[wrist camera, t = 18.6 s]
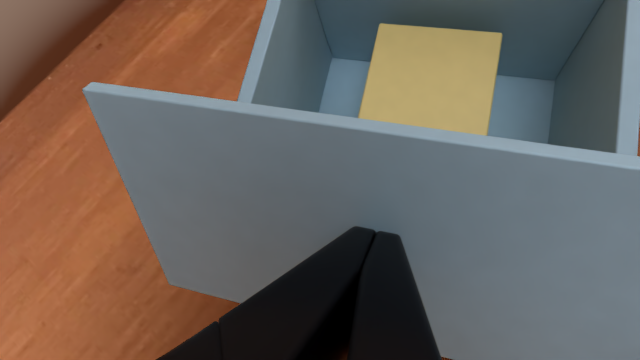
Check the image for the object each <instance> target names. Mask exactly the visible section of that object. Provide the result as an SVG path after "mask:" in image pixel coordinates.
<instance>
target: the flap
mask: <svg viewBox="0 0 640 360" xmlns="http://www.w3.org/2000/svg"><path fill="white" fill-rule="evenodd" d="M82 91H83V93H84V95H85V97H86V100H87V102H88V104H89V106H90V109H91V111H92V113H93V115H94V118H95V120H96V122H97V124H98V126H99V129H100V131H101V133H102V135H103V138H104V140H105V142H106V144H107V147H108V149H109V151H110V153H111V155H112V158H113V160H114V162H115V164H116V167H117V169H118V171H119V173H120V176H121V178H122V180H123V182H124V184H125V187H126V189H127V191H128V193H129V196H130V198H131V200H132V202H133V205H134V207H135V209H136V211H137V213H138V216H139V218H140V220H141V222H142V225H143V227H144V229H145V231H146V234H147V236H148V238H149V240H150V242H151V245H152V247H153V249H154V251H155V254H156V256H157V258H158V260H159V263H160V265H161V267H162V269H163V271H164V274H165V276H166V278H167V280H168V283H169V284H170V285H173V286H177V287H181V288H184V289H188V290H192V291H196V292H199V293H203V294H207V295H211V296H215V297H218V298H222V299H226V300H230V301H234V302H237V303H243V302H244V301H245V300H247V299H248V298H250V297H251V296H253V295H254V294H256V293H257V292H259V291H260V290H261V289H263V288H264V287H266V286H267V285H269V284H270V283H272V282H273V281H275V280H276V279H278V278H279V277H280V276H282V275H283V274H285V273H286V272H288V271H289V270H291V269H292V268H294V267H295V266H296V265H298V264H299V263H301V262H302V261H304V260H305V259H307V258H308V257H310V256H311V255H312V254H314V253H315V252H317V251H318V250H320V249H321V248H323V247H324V246H326V245H327V244H329V243H330V242H331V241H333V240H334V239H336V238H337V237H339V236H340V235H342V234H343V233H345V232H346V231H347V230H349V229H350V228H352V227H354V226H359V227H364V228H369V229H373V230H375V231H376V233H377V232H378V231H384V232H389V233H394V234H398V235H399V236H400V237H401V240H402V243H403V246H404V249H405V252H406V255H407V258H408V260H409V263H410V266H411V269H412V272H413V275H414V278H415V281H416V284H417V287H418V290H419V293H420V296H421V299H422V302H423V305H424V308H425V311H426V314H427V317H428V320H429V323H430V326H431V329H432V332H433V335H434V338H435V341H436V343H437V346H438V349H439V352H440V355H441V356H442V357H445V358H449V359H453V360H640V157H639V156H631V155H624V154H617V153H609V152H602V151H595V150H587V149H580V148H573V147H565V146H558V145H551V144H543V143H536V142H529V141H521V140H514V139H507V138H500V137H492V136H485V135H478V134H470V133H463V132H456V131H448V130H441V129H434V128H426V127H419V126H412V125H404V124H397V123H390V122H382V121H375V120H368V119H360V118H353V117H346V116H339V115H331V114H324V113H317V112H309V111H302V110H295V109H287V108H280V107H273V106H265V105H258V104H251V103H243V102H236V101H229V100H221V99H214V98H207V97H199V96H192V95H185V94H178V93H170V92H163V91H156V90H148V89H141V88H134V87H126V86H119V85H112V84H104V83H97V82H91V83H90V84H89V85H87V86H86V87H84V88H83V89H82Z"/></svg>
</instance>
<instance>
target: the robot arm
mask: <svg viewBox="0 0 640 360" xmlns="http://www.w3.org/2000/svg"><path fill="white" fill-rule="evenodd" d="M156 360H442V358H441V355H440V352H439V349H438V346H437V343H436V341H435V338H434V335H433V332H432V329H431V326H430V323H429V320H428V317H427V314H426V311H425V308H424V305H423V302H422V299H421V296H420V293H419V290H418V287H417V284H416V281H415V278H414V275H413V272H412V269H411V266H410V263H409V260H408V258H407V255H406V252H405V249H404V246H403V243H402V240H401V237H400V236H399V235H398V234H394V233H389V232H384V231H378V232H377V233H376V231H375V230H373V229H369V228H364V227H359V226H354V227H352V228H350V229H349V230H347V231H346V232H345V233H343V234H342V235H340V236H339V237H337V238H336V239H334V240H333V241H331V242H330V243H329V244H327V245H326V246H324V247H323V248H321V249H320V250H318V251H317V252H315V253H314V254H312V255H311V256H310V257H308V258H307V259H305V260H304V261H302V262H301V263H299V264H298V265H296V266H295V267H294V268H292V269H291V270H289V271H288V272H286V273H285V274H283V275H282V276H280V277H279V278H278V279H276V280H275V281H273V282H272V283H270V284H269V285H267V286H266V287H264V288H263V289H261V290H260V291H259V292H257V293H256V294H254V295H253V296H251V297H250V298H248V299H247V300H245V301H244V302H243V303H241V304H240V305H238V306H237V307H235V308H234V309H232V310H231V311H229V312H228V313H226V314H225V315H224V316H222V317H221V318H219V323H218V322H217V321H215V322H213V323H212V324H210V325H209V326H207V327H206V328H204V329H203V330H201V331H200V332H198V333H197V334H196V335H194V336H192V337H191V338H189V339H188V340H186V341H185V342H183V343H182V344H180V345H179V346H177V347H175V348H174V349H172V350H171V351H169V352H168V353H166V354H165V355H163V356H161V357H159V358H158V359H156Z"/></svg>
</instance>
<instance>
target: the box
mask: <svg viewBox="0 0 640 360" xmlns="http://www.w3.org/2000/svg"><path fill="white" fill-rule="evenodd" d="M380 23H384V24H397V25H410V26H422V27H435V28H447V29H460V30H473V31H485V32H498V33H502V35H503V37H502V43H501V50H500V56H499V63H498V70H497V76H496V83H495V89H494V96H493V103H492V109H491V116H490V122H489V129H488V136H492V137H500V138H507V139H514V140H521V141H529V142H536V143H543V144H551V145H558V146H565V147H573V148H580V149H587V150H595V151H602V152H609V153H617V154H624V155H631V156H637V150H638V135H639V120H640V0H267V3H266V7H265V10H264V13H263V17H262V20H261V23H260V27H259V30H258V33H257V37H256V40H255V43H254V47H253V50H252V53H251V56H250V60H249V63H248V66H247V70H246V73H245V76H244V80H243V83H242V86H241V90H240V93H239V96H238V100H237V102H243V103H251V104H258V105H265V106H273V107H280V108H287V109H295V110H302V111H309V112H317V113H324V114H331V115H339V116H346V117H353V118H358V114H359V110H360V105H361V101H362V96H363V92H364V88H365V83H366V79H367V74H368V70H369V66H370V61H371V57H372V53H373V48H374V44H375V39H376V35H377V31H378V26H379V24H380Z"/></svg>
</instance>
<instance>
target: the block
mask: <svg viewBox="0 0 640 360" xmlns="http://www.w3.org/2000/svg"><path fill="white" fill-rule="evenodd" d="M502 37H503V35H502V33H498V32H485V31H473V30H460V29H447V28H435V27H422V26H410V25H397V24H384V23H380V24H379V26H378V31H377V35H376V39H375V44H374V48H373V53H372V57H371V61H370V66H369V70H368V74H367V79H366V83H365V88H364V92H363V96H362V101H361V105H360V110H359V114H358V118H360V119H368V120H375V121H382V122H390V123H397V124H404V125H412V126H419V127H426V128H434V129H441V130H448V131H456V132H463V133H470V134H478V135H485V136H488V129H489V122H490V116H491V109H492V103H493V96H494V89H495V83H496V76H497V70H498V63H499V56H500V50H501V43H502Z"/></svg>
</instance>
